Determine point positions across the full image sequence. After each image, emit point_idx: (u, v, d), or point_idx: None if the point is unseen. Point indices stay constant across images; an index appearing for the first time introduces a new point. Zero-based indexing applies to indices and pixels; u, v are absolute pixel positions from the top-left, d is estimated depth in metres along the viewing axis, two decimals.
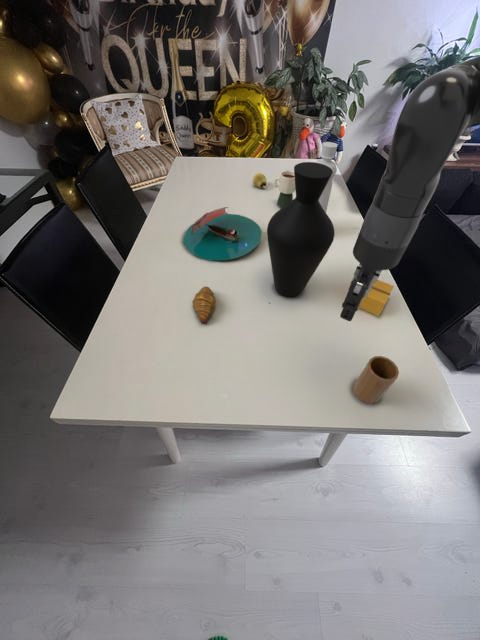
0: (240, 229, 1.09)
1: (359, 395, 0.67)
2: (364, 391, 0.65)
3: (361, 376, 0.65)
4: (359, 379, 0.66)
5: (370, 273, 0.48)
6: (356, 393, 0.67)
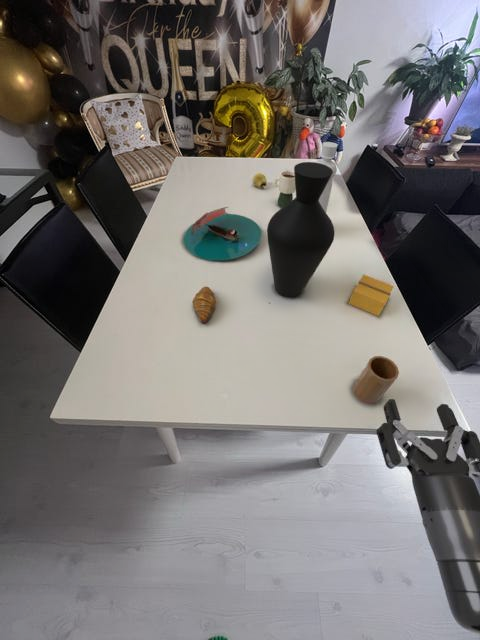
0: (240, 229, 1.09)
1: (359, 395, 0.67)
2: (364, 391, 0.65)
3: (361, 376, 0.65)
4: (359, 379, 0.66)
5: (468, 475, 0.42)
6: (356, 393, 0.67)
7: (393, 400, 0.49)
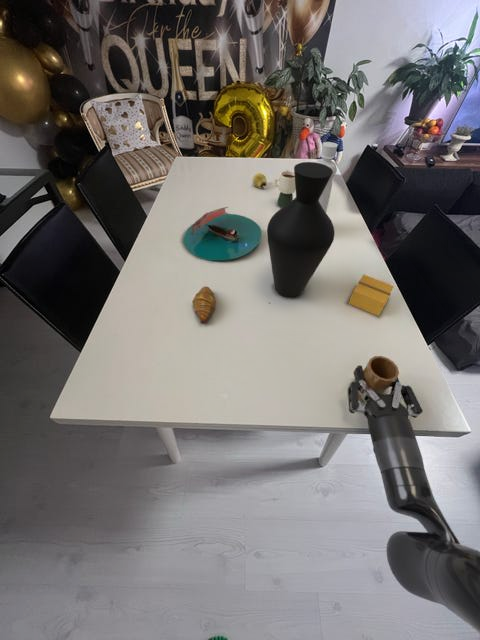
0: (240, 229, 1.09)
1: (359, 395, 0.67)
2: None
3: None
4: None
5: None
6: None
7: (360, 366, 0.65)
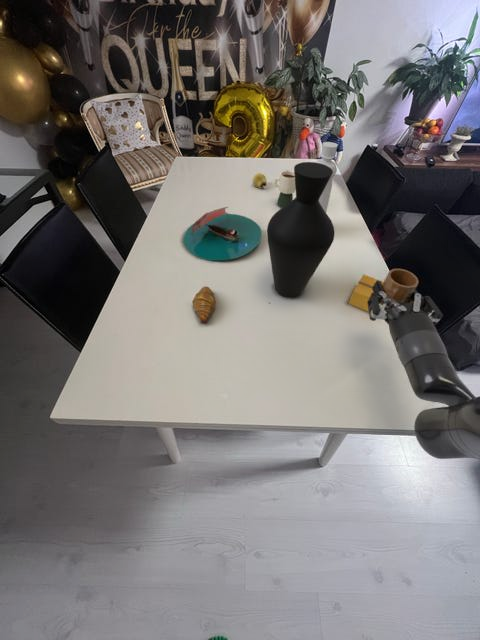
0: (240, 229, 1.09)
1: None
2: None
3: None
4: None
5: None
6: None
7: (379, 281, 0.65)
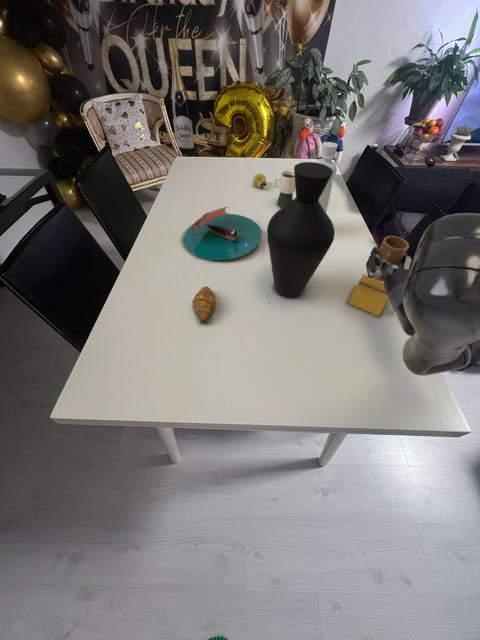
0: (240, 229, 1.09)
1: None
2: None
3: None
4: None
5: None
6: None
7: (376, 247, 0.77)
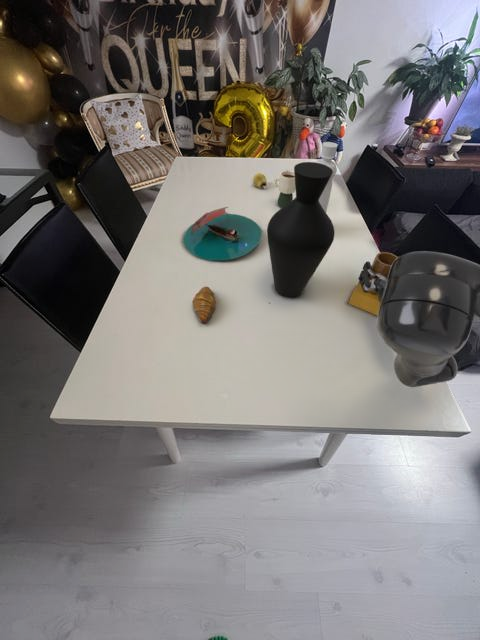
0: (240, 229, 1.09)
1: None
2: None
3: None
4: None
5: None
6: None
7: None
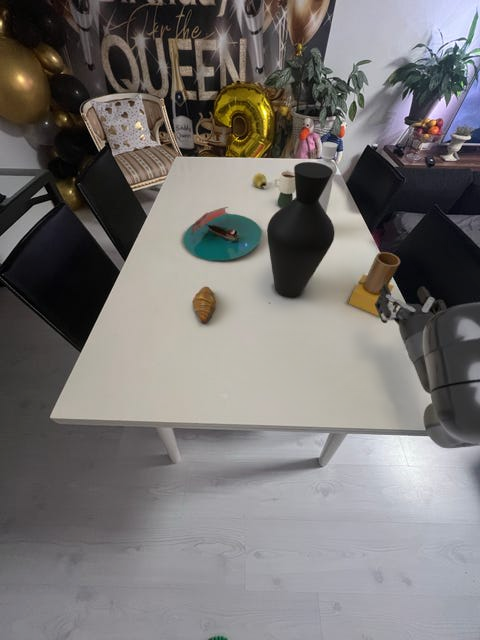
0: (240, 229, 1.09)
1: (368, 288, 0.83)
2: (372, 282, 0.81)
3: (370, 270, 0.81)
4: (368, 274, 0.82)
5: None
6: (366, 287, 0.83)
7: None
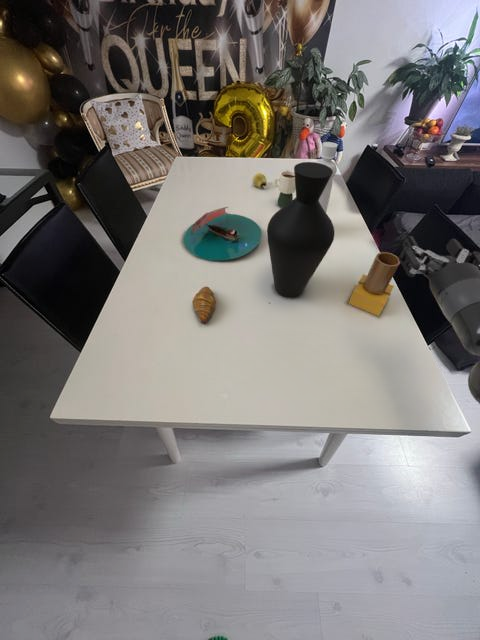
0: (240, 229, 1.09)
1: (368, 288, 0.83)
2: (372, 282, 0.81)
3: (370, 270, 0.81)
4: (368, 274, 0.82)
5: None
6: (366, 287, 0.83)
7: (411, 236, 0.59)
